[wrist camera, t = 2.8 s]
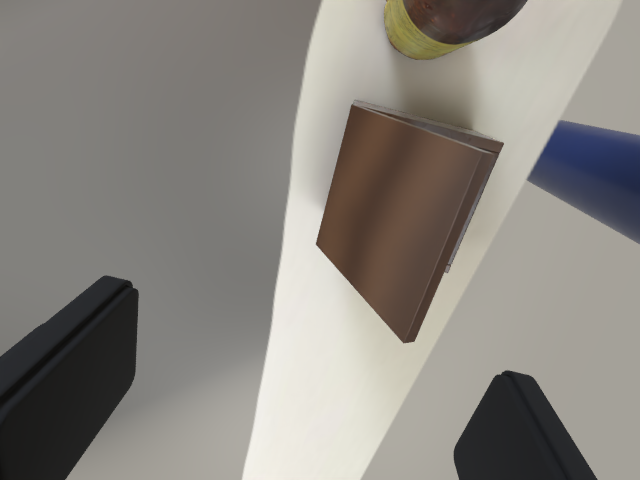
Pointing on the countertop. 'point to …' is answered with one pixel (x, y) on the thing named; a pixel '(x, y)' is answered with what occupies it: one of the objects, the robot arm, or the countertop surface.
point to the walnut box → (453, 133)
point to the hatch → (398, 212)
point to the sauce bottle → (444, 24)
